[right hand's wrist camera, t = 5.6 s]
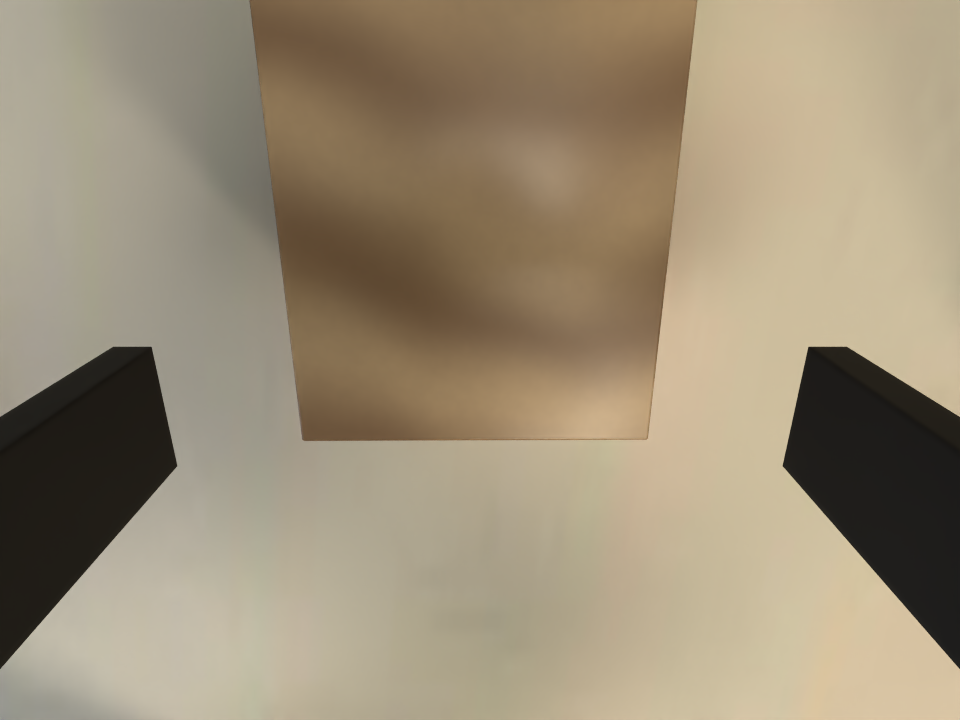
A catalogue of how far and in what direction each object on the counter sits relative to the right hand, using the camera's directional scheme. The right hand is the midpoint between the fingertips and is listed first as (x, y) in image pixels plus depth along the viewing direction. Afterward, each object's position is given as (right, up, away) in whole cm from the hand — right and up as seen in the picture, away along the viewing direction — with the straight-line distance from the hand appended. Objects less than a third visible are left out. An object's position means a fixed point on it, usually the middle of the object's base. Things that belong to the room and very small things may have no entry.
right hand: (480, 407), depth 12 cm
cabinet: (0, +11, +11) cm, 16 cm away
